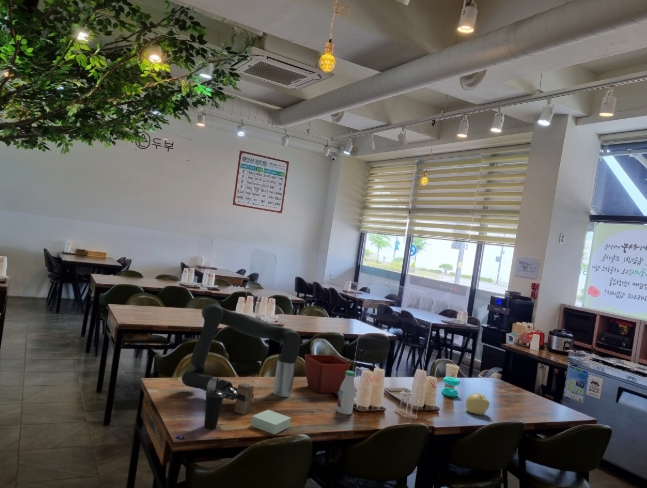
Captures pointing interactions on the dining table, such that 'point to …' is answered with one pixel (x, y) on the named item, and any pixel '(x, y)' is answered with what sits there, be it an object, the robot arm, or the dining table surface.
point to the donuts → (451, 382)
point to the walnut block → (248, 392)
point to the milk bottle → (346, 394)
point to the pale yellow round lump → (477, 404)
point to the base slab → (270, 421)
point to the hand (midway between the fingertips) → (249, 397)
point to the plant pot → (325, 372)
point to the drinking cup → (213, 407)
